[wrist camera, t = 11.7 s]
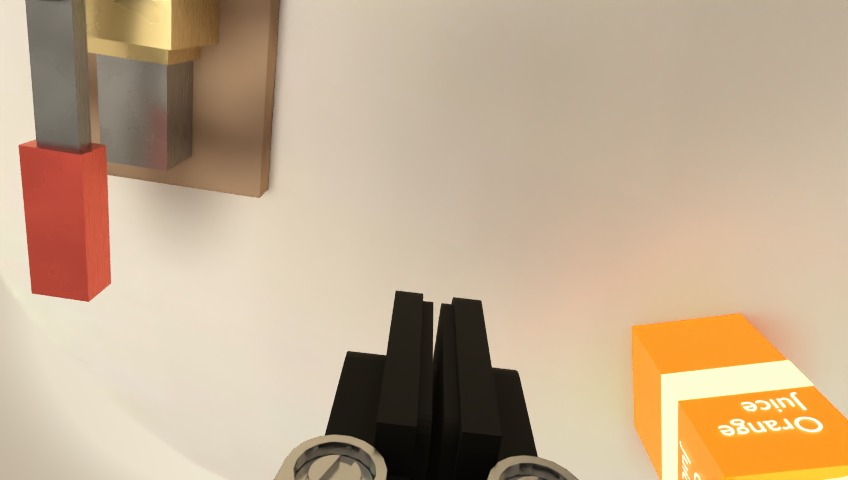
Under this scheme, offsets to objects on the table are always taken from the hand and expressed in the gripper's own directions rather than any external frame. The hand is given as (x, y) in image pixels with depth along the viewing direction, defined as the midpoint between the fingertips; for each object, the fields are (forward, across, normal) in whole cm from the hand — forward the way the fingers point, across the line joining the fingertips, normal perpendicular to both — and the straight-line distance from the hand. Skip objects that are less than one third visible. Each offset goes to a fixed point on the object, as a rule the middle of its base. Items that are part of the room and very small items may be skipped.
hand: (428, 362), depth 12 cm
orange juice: (+27, -20, +16) cm, 38 cm away
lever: (+16, +16, 0) cm, 23 cm away
